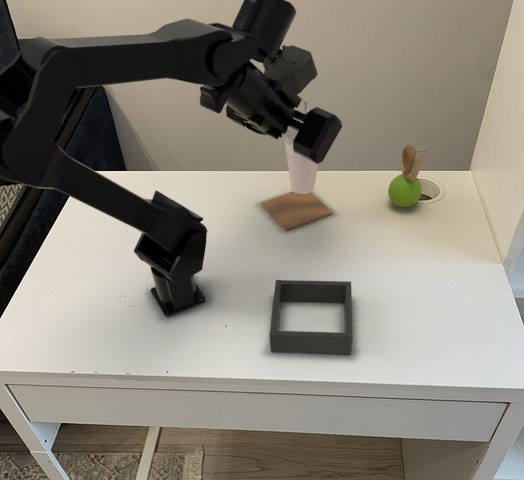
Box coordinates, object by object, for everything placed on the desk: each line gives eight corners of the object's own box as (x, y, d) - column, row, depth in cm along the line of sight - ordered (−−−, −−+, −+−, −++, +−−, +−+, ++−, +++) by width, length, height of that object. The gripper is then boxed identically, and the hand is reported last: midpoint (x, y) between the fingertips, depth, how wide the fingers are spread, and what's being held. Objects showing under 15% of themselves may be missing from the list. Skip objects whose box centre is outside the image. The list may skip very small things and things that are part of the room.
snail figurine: (395, 219, 91) (405, 152, 82) (381, 198, 95) (390, 132, 86) (426, 214, 91) (440, 146, 82) (411, 193, 95) (423, 127, 86)
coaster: (332, 214, 93) (332, 212, 92) (286, 231, 90) (286, 229, 90) (305, 189, 98) (305, 187, 98) (260, 204, 96) (260, 202, 95)
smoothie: (302, 203, 85) (303, 115, 74) (274, 188, 88) (271, 101, 78) (331, 187, 88) (335, 99, 77) (302, 172, 91) (303, 86, 80)
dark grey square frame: (349, 299, 79) (351, 281, 76) (350, 355, 72) (352, 337, 69) (276, 297, 80) (275, 279, 77) (270, 352, 73) (269, 334, 70)
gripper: (336, 51, 64) (386, 112, 76) (234, 15, 73) (293, 75, 86) (288, 139, 66) (344, 184, 79) (195, 94, 76) (259, 140, 89)
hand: (309, 142), depth 83 cm, fingers closed on smoothie, 6 cm apart
